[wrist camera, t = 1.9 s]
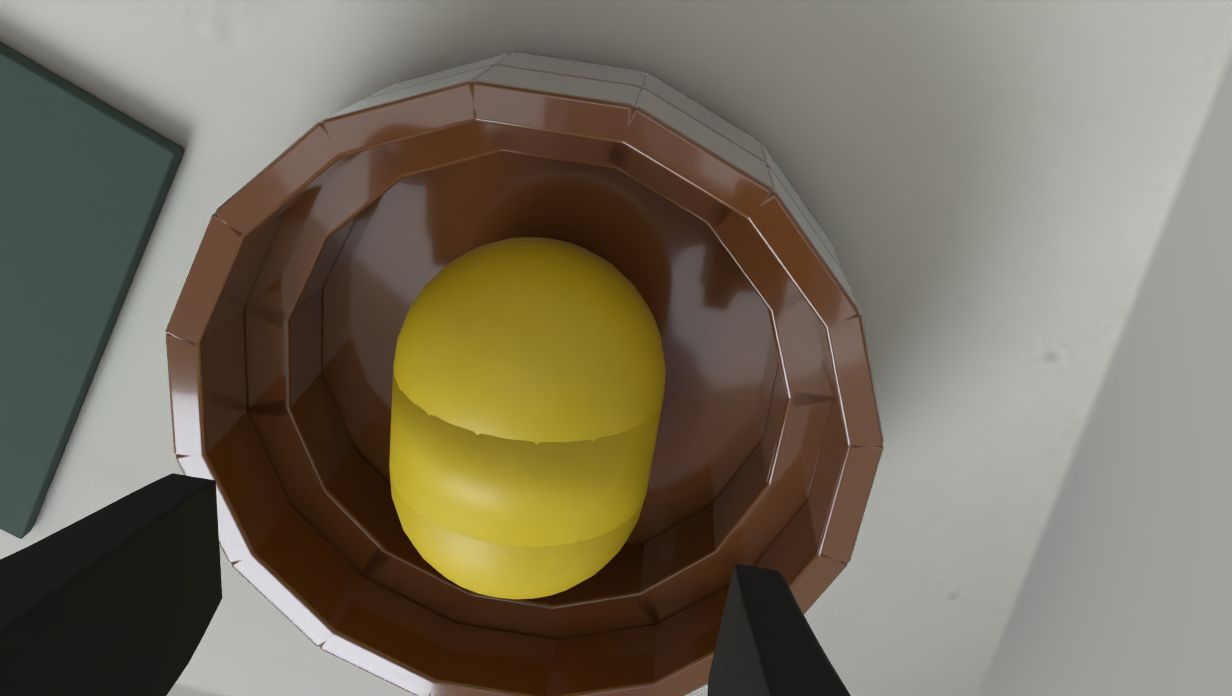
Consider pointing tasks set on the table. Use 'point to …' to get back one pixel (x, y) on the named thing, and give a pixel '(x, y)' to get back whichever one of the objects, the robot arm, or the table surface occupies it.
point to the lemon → (524, 416)
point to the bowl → (374, 315)
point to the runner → (62, 260)
